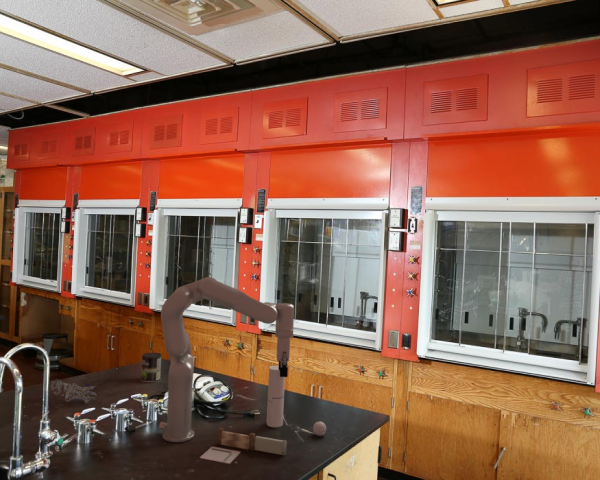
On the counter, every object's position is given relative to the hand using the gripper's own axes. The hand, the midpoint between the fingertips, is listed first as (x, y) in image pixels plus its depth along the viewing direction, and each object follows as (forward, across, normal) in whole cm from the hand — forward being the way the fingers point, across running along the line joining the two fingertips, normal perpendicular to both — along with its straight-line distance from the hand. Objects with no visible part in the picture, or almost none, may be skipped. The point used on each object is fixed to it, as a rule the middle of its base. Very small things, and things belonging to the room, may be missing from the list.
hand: (282, 373), depth 205 cm
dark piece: (+25, -35, -96) cm, 105 cm away
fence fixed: (+25, +13, -18) cm, 34 cm away
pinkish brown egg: (+26, +2, +17) cm, 31 cm away
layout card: (+25, +21, -24) cm, 40 cm away
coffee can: (+25, -69, -68) cm, 100 cm away
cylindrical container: (+26, -9, -2) cm, 27 cm away
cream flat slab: (+25, +19, -5) cm, 31 cm away
